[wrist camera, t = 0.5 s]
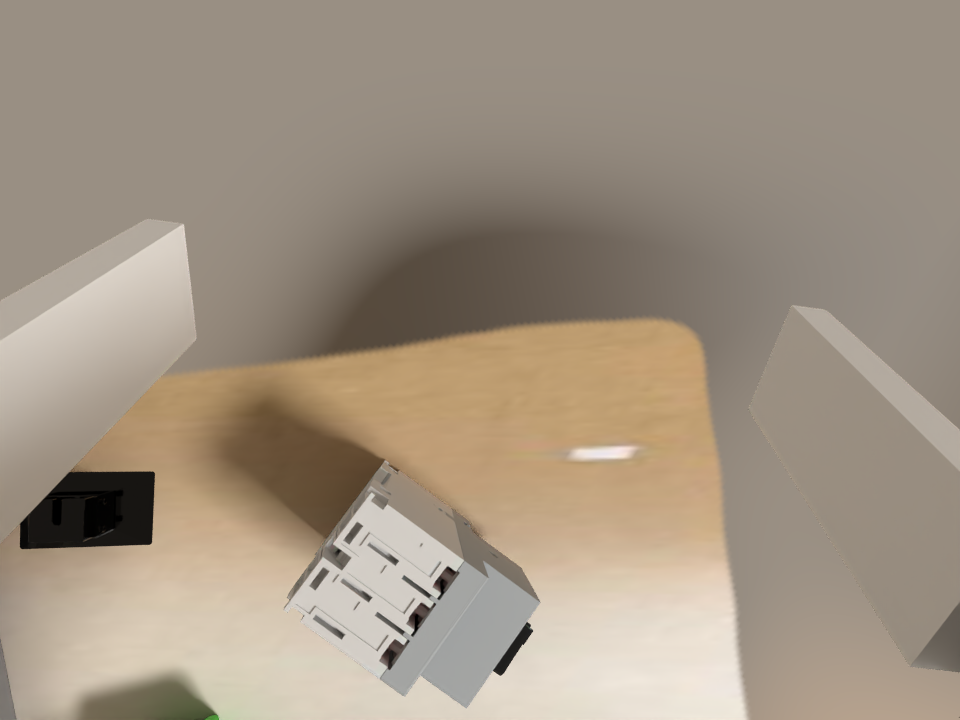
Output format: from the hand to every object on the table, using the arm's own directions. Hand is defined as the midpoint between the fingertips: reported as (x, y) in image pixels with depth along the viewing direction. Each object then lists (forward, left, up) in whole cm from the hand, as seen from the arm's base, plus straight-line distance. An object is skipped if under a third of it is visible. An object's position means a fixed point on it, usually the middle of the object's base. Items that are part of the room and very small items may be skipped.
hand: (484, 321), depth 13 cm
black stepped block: (-4, +28, -36) cm, 45 cm away
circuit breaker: (-13, +4, -35) cm, 38 cm away
